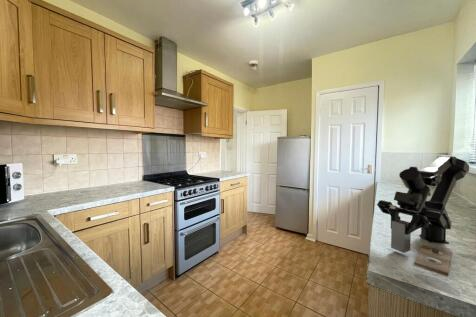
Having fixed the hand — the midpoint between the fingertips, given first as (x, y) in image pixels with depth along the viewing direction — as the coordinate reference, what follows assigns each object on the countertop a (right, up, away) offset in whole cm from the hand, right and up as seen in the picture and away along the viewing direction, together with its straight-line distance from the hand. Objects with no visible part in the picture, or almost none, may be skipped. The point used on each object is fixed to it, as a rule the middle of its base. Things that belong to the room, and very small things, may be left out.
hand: (398, 231), depth 69 cm
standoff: (+1, -7, +1) cm, 7 cm away
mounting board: (+10, -8, -3) cm, 13 cm away
